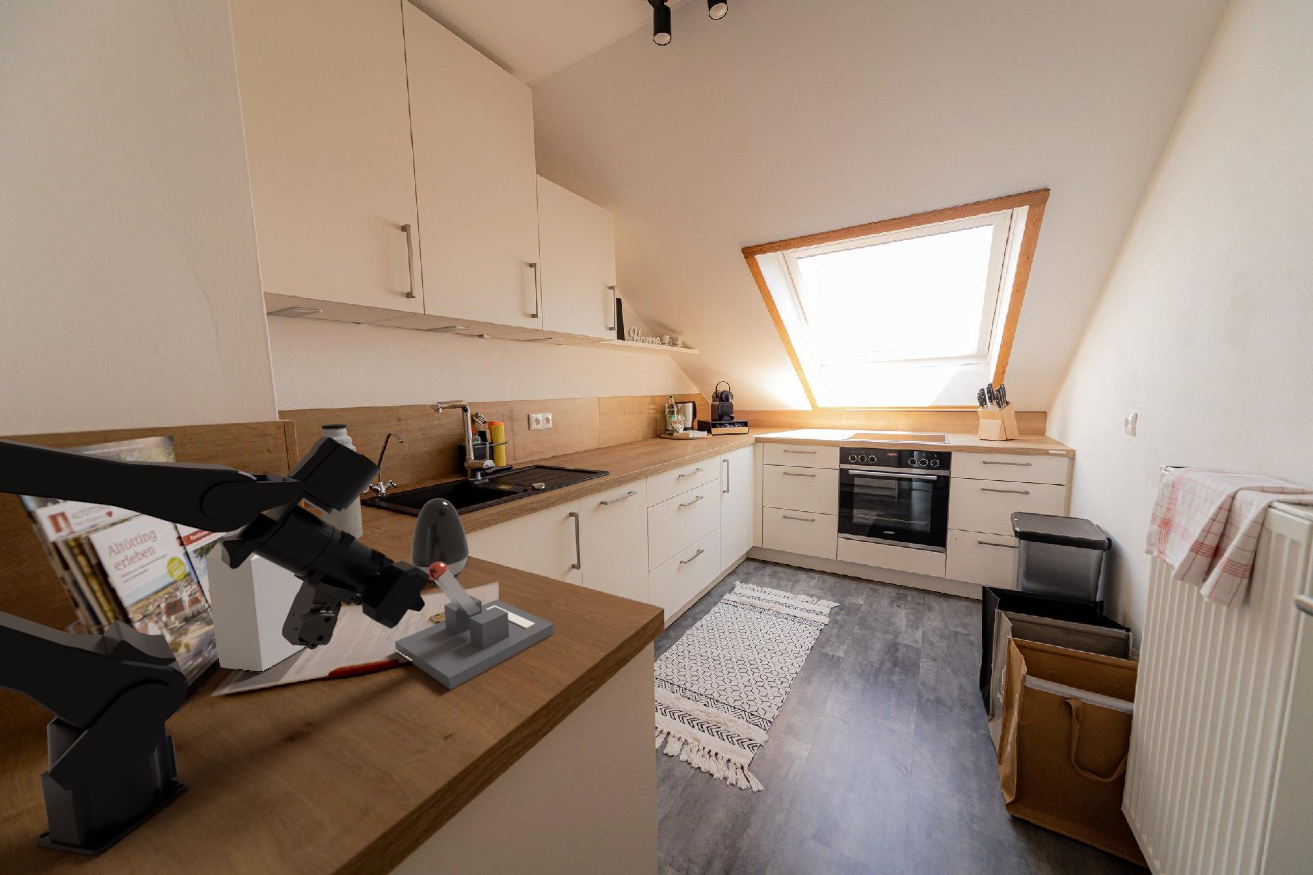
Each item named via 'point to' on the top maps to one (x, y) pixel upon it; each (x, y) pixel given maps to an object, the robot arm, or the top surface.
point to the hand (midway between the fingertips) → (421, 607)
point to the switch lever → (453, 590)
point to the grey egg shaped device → (439, 537)
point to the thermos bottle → (352, 516)
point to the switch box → (473, 641)
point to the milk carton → (250, 610)
